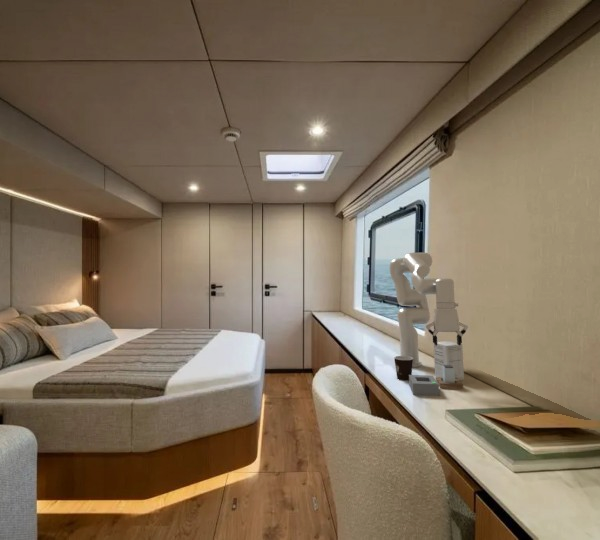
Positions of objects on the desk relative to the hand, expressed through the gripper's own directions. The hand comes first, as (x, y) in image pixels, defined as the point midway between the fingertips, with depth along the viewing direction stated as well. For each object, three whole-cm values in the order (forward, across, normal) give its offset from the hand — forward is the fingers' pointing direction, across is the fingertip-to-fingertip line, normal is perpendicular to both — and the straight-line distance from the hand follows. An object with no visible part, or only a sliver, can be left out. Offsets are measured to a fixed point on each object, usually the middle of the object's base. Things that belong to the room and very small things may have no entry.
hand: (447, 344), depth 142 cm
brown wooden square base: (+18, 0, 0) cm, 18 cm away
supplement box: (+18, -3, -12) cm, 22 cm away
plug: (+18, 0, 0) cm, 18 cm away
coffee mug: (+18, +18, -10) cm, 28 cm away
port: (+18, +12, +8) cm, 23 cm away
